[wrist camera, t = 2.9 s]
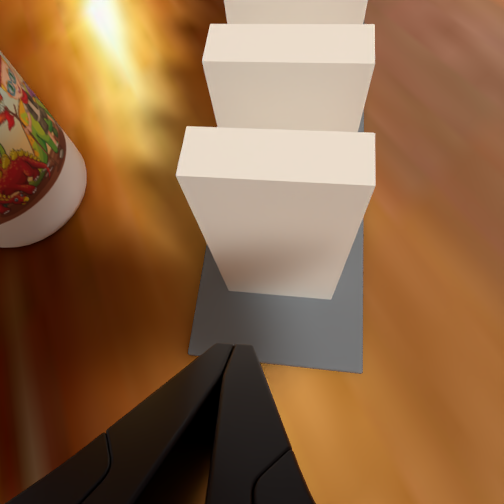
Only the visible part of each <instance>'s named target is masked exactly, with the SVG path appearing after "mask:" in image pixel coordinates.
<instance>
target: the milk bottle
mask: <svg viewBox="0 0 504 504" xmlns="http://www.w3.org/2000/svg"><path fill="white" fill-rule="evenodd" d="M86 185H87V173H86V166H85V162H84V159H83V157H82V155H81V154H80V152H79V151H78V149H77V148H76V147H75V145H74V144H73V142H72V141H71V140H70V138H69V137H68V136H67V135H66V133H65V132H64V131H63V129H62V128H61V127H60V126H59V124H58V123H57V122H56V121H55V119H54V118H53V117H52V115H51V114H50V113H49V112H48V110H47V109H46V108H45V106H44V105H43V104H42V103H41V101H40V100H39V99H38V98H37V96H36V95H35V94H34V92H33V91H32V90H31V89H30V87H29V86H28V85H27V84H26V82H25V81H24V80H23V79H22V77H21V76H20V75H19V73H18V72H17V71H16V70H15V68H14V67H13V66H12V65H11V63H10V62H9V61H8V60H7V58H6V57H5V56H4V55H3V53H2V52H1V51H0V247H1V248H9V247H21V246H26V245H30V244H33V243H35V242H38V241H41V240H43V239H45V238H46V237H48V236H50V235H52V234H54V233H55V232H56V231H57V230H59V229H60V228H61V227H62V226H64V225H65V224H66V223H67V221H68V220H69V219H70V218H71V217H72V216H73V215H74V213H75V212H76V210H77V209H78V207H79V206H80V204H81V201H82V199H83V197H84V195H85V189H86Z"/></svg>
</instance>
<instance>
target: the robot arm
mask: <svg viewBox="0 0 504 504" xmlns="http://www.w3.org/2000/svg"><path fill="white" fill-rule="evenodd" d="M5 504H316V503H315V501H314V499H313V497H312V496H311V494H310V491H309V489H308V487H307V484H306V482H305V480H304V477H303V475H302V472H301V470H300V468H299V465H298V462H297V460H296V457H295V454H294V452H293V451H292V447H291V444H290V442H289V439H288V436H287V434H286V431H285V428H284V426H283V423H282V421H281V418H280V415H279V413H278V410H277V407H276V405H275V402H274V399H273V397H272V394H271V391H270V389H269V386H268V383H267V381H266V378H265V375H264V373H263V370H262V367H261V365H260V362H259V359H258V357H257V354H256V351H255V349H254V347H253V345H250V344H236V345H235V346H234V344H232V343H216V344H214V345H213V346H212V347H210V348H209V349H208V350H207V351H205V352H204V353H203V354H202V355H200V356H199V357H198V358H196V359H195V360H194V361H193V362H191V363H190V364H189V365H188V366H186V367H185V368H184V369H183V370H181V371H180V372H179V373H178V374H176V375H175V376H174V377H173V378H171V379H170V380H169V381H168V382H166V383H165V384H164V385H162V386H161V387H160V388H159V389H157V390H156V391H155V392H154V393H152V394H151V395H150V396H149V397H147V398H146V399H145V400H144V401H142V402H141V403H140V404H139V405H137V406H136V407H135V408H134V409H132V410H131V411H130V412H129V413H127V414H126V415H125V416H123V417H122V418H121V419H120V420H118V421H117V422H116V423H115V424H113V425H112V426H111V427H110V428H108V429H107V430H106V433H102V434H101V435H99V436H98V437H97V438H96V439H94V440H93V441H92V442H91V443H89V444H88V445H87V446H85V447H84V448H83V449H81V450H80V451H79V452H78V453H76V454H75V455H74V456H72V457H71V458H70V459H68V460H67V461H66V462H64V463H63V464H62V465H60V466H59V467H57V468H56V469H55V470H53V471H52V472H50V473H49V474H47V475H46V476H45V477H43V478H42V479H40V480H39V481H37V482H36V483H35V484H33V485H32V486H30V487H29V488H27V489H26V490H24V491H23V492H21V493H20V494H18V495H17V496H15V497H14V498H12V499H11V500H9V501H8V502H6V503H5Z"/></svg>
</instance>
